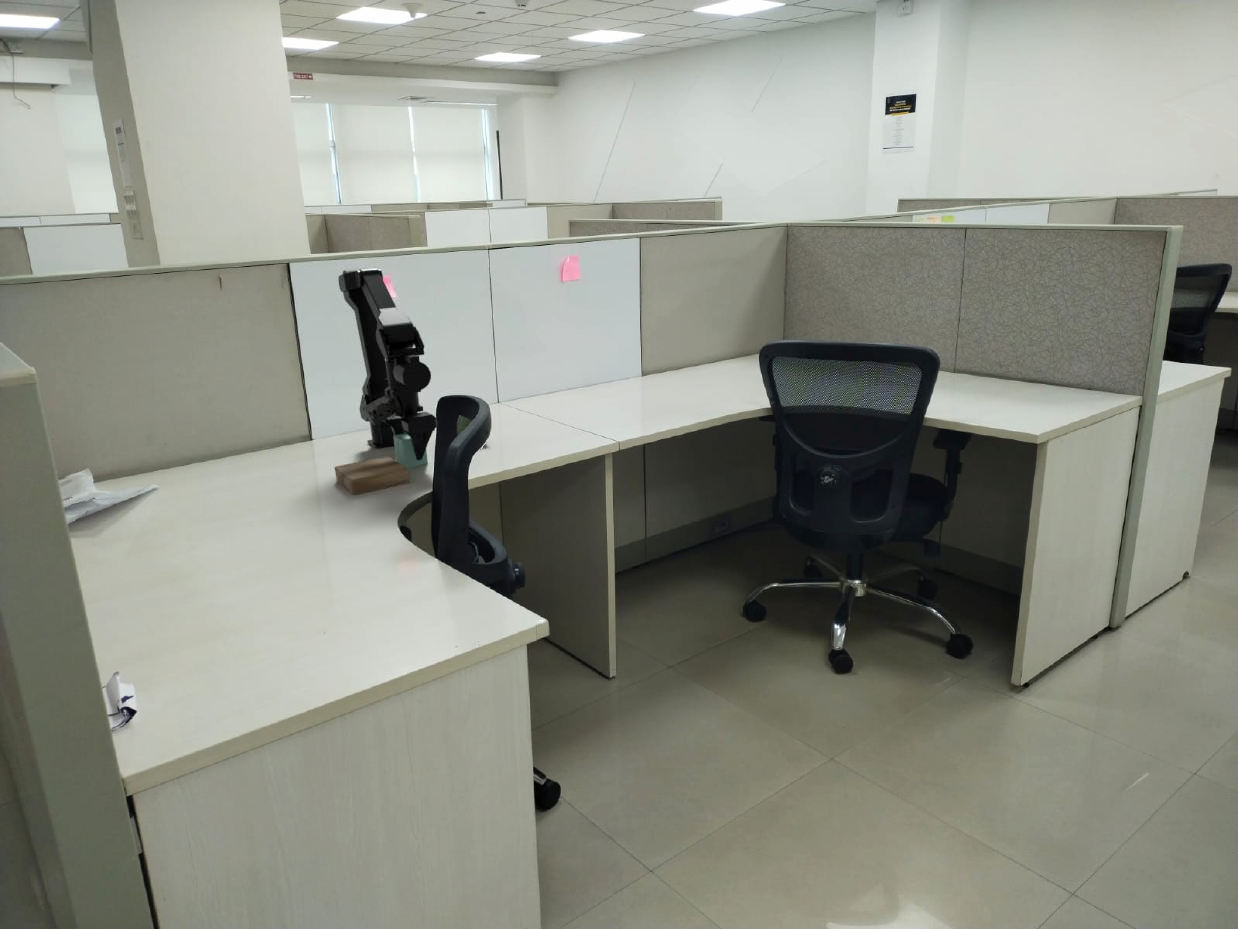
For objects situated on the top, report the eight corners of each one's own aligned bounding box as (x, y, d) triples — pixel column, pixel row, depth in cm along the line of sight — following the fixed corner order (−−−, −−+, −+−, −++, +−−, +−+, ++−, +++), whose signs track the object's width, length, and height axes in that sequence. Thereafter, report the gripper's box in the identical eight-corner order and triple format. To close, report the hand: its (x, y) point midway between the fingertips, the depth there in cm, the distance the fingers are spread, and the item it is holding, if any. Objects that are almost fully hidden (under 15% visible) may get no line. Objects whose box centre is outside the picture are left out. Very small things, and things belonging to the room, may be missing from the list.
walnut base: (336, 480, 176) (334, 466, 175) (389, 469, 182) (387, 455, 181) (354, 494, 168) (352, 479, 167) (409, 482, 173) (407, 468, 172)
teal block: (396, 462, 187) (393, 435, 185) (418, 458, 189) (415, 431, 188) (405, 468, 183) (401, 440, 181) (427, 463, 186) (424, 436, 184)
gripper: (349, 381, 184) (359, 453, 189) (380, 396, 169) (389, 473, 174) (400, 373, 190) (408, 443, 195) (434, 387, 175) (442, 462, 180)
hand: (411, 455), depth 186 cm, fingers open, 9 cm apart
